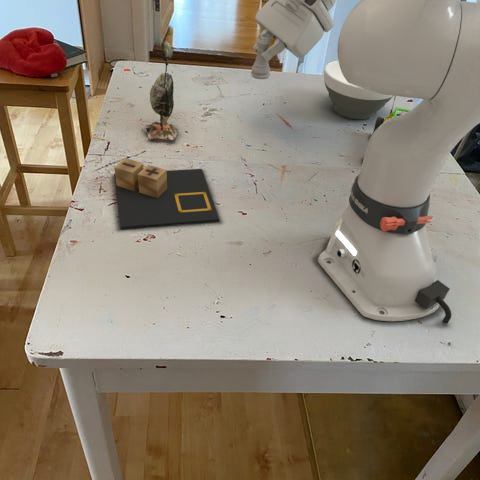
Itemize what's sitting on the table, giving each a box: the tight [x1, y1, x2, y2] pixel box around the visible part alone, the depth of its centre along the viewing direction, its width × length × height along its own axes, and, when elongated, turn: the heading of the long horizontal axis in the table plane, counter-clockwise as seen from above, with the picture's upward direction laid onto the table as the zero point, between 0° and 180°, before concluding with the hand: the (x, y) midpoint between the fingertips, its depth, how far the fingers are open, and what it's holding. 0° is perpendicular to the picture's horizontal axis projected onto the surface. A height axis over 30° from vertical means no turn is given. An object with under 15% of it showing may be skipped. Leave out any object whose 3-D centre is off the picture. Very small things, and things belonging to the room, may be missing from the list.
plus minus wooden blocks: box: [114, 157, 168, 198], centre depth 91 cm, size 4×9×4 cm, turn 68°
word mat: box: [113, 168, 220, 230], centre depth 91 cm, size 18×18×1 cm
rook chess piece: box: [250, 34, 272, 80], centre depth 103 cm, size 4×4×8 cm
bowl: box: [323, 59, 395, 120], centre depth 123 cm, size 20×20×10 cm
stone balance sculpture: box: [144, 40, 179, 142], centre depth 102 cm, size 8×11×20 cm
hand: (259, 55), depth 103 cm, fingers closed on rook chess piece, 3 cm apart
